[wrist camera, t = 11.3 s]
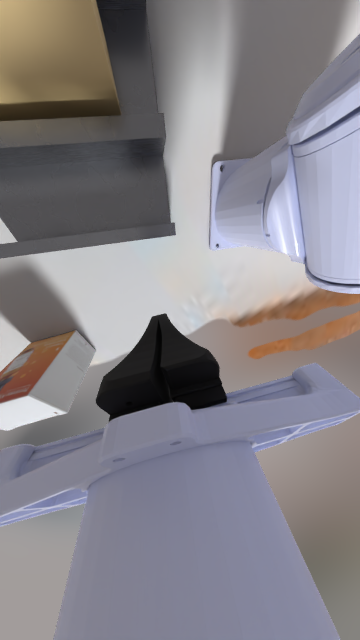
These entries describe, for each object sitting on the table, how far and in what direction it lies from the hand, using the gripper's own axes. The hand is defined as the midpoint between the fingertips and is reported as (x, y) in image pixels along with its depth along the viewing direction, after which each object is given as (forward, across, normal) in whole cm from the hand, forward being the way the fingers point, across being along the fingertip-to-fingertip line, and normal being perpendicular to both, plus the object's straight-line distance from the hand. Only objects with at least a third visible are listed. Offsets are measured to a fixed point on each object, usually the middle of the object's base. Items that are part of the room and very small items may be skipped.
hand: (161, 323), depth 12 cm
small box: (+10, +18, +7) cm, 22 cm away
